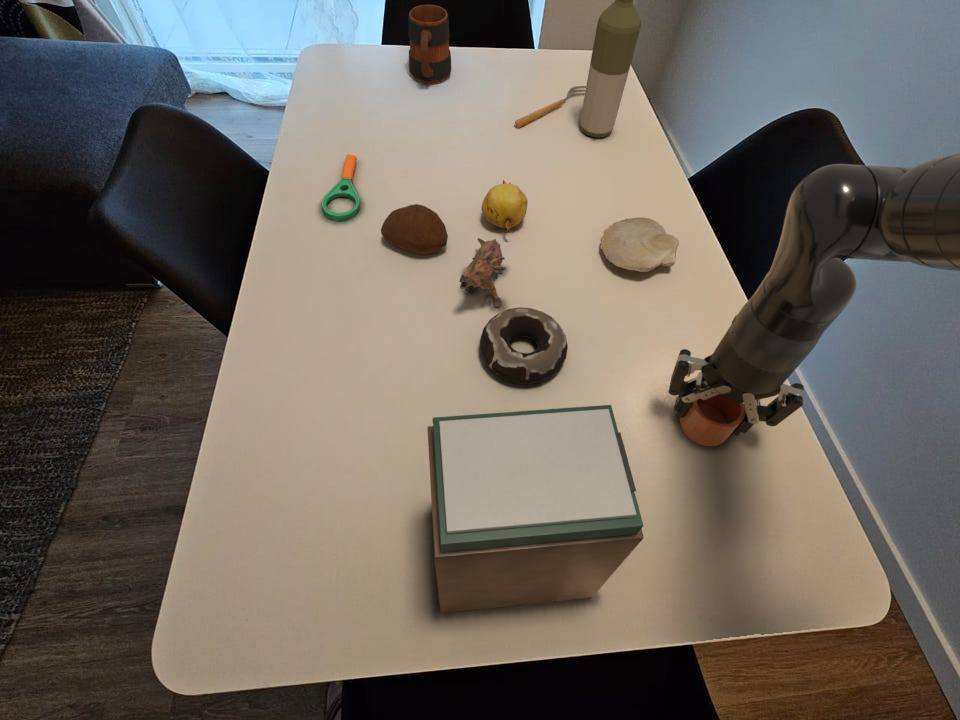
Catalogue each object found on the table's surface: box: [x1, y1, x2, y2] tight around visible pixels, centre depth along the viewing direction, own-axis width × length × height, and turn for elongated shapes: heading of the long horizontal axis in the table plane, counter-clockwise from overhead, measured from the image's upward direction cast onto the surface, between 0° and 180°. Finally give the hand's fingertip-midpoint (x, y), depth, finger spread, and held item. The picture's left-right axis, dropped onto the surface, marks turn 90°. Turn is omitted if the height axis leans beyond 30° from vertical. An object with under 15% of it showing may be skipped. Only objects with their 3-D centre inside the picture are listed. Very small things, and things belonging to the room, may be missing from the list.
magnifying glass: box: [321, 154, 361, 222], centre depth 95 cm, size 15×6×2 cm, turn 179°
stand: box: [427, 425, 644, 614], centre depth 54 cm, size 16×11×20 cm
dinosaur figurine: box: [459, 237, 507, 309], centre depth 81 cm, size 14×6×9 cm, turn 173°
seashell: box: [600, 217, 680, 273], centre depth 88 cm, size 12×12×3 cm
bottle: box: [579, 0, 642, 138], centre depth 96 cm, size 7×7×30 cm
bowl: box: [679, 396, 745, 447], centre depth 70 cm, size 6×6×5 cm
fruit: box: [481, 179, 528, 233], centre depth 90 cm, size 7×7×10 cm
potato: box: [380, 203, 449, 255], centre depth 86 cm, size 7×10×7 cm
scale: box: [432, 404, 644, 552], centre depth 45 cm, size 15×10×3 cm
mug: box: [407, 4, 452, 85], centre depth 112 cm, size 9×12×12 cm
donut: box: [479, 306, 569, 385], centre depth 76 cm, size 12×12×4 cm
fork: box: [514, 85, 586, 129], centre depth 111 cm, size 2×2×20 cm
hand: (707, 419), depth 71 cm, fingers closed on bowl, 6 cm apart
